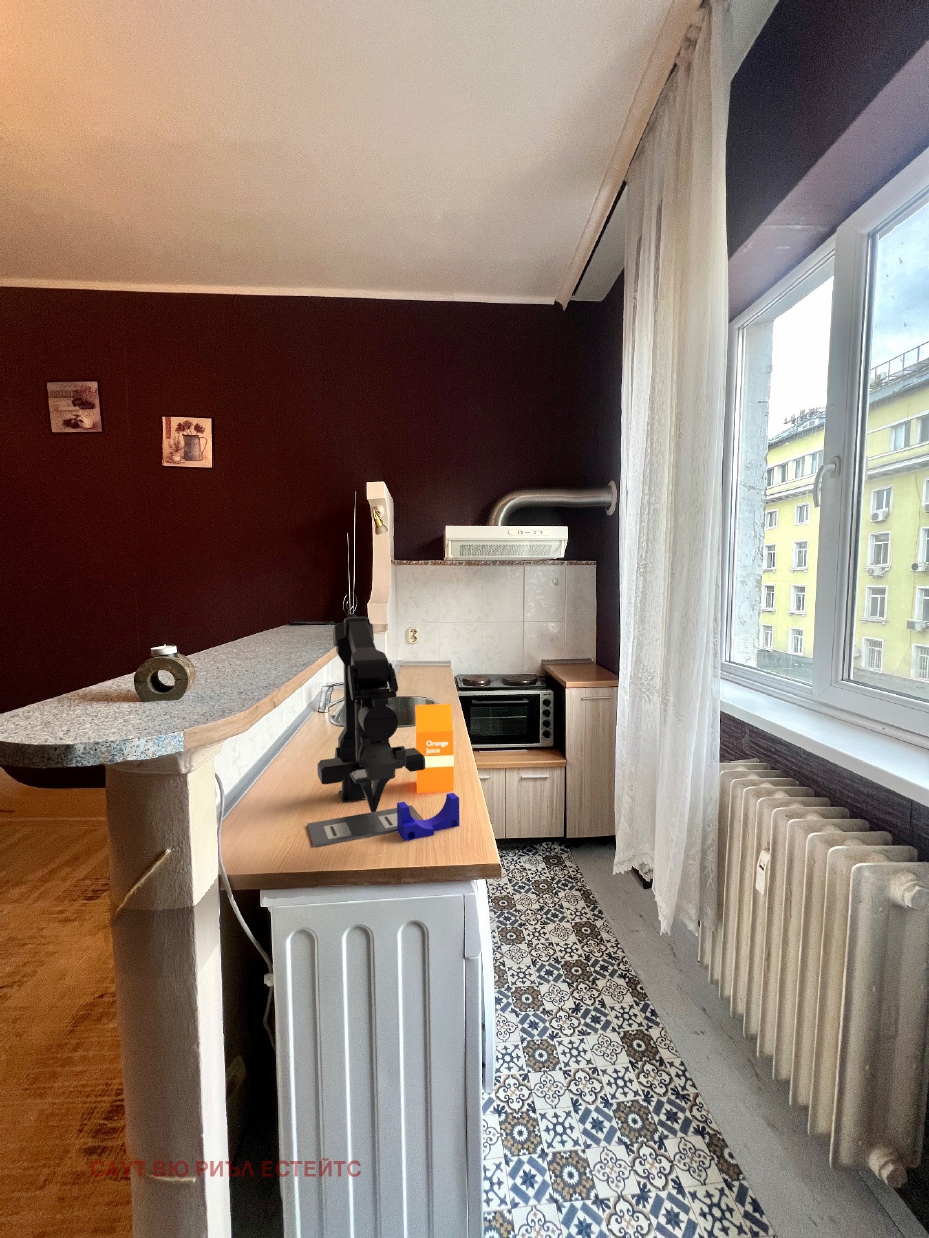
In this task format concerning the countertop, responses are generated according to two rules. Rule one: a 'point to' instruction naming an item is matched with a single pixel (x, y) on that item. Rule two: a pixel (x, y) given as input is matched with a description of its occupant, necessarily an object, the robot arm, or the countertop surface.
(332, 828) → the plate
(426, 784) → the orange juice
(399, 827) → the blue cradle bracket
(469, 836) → the countertop surface
